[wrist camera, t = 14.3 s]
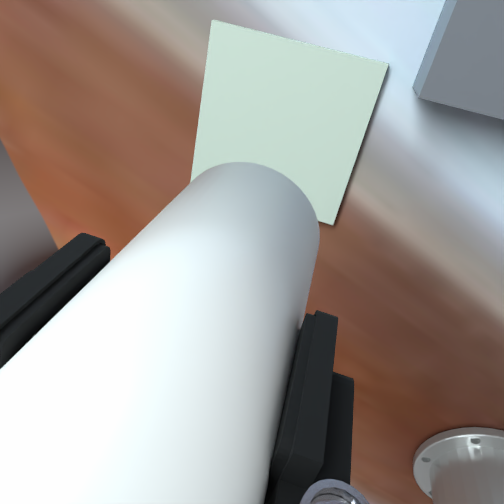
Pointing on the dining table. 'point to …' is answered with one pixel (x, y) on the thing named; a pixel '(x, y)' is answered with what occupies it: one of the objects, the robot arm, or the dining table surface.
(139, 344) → the cylinder
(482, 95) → the housing
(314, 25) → the dining table surface
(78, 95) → the dining table surface
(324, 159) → the mat
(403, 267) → the dining table surface
